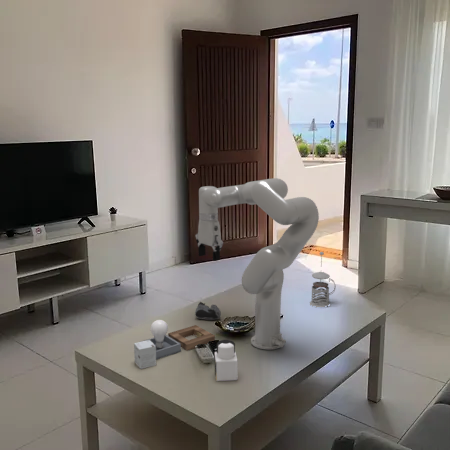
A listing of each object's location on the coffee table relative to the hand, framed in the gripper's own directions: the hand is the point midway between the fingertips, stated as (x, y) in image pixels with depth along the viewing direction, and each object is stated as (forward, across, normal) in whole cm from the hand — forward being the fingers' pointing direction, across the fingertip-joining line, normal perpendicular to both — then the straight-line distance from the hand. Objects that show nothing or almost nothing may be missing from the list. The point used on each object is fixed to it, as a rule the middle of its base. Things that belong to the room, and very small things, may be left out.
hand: (209, 257), depth 206 cm
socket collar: (+28, -10, +16) cm, 34 cm away
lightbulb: (+28, -9, +30) cm, 42 cm away
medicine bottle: (+28, -40, +23) cm, 54 cm away
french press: (+28, -16, -53) cm, 62 cm away
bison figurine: (+29, +5, -4) cm, 29 cm away
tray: (+28, -9, +30) cm, 42 cm away
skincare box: (+28, -15, +40) cm, 51 cm away
